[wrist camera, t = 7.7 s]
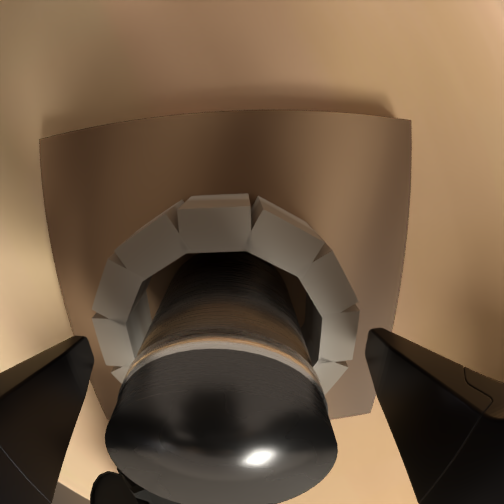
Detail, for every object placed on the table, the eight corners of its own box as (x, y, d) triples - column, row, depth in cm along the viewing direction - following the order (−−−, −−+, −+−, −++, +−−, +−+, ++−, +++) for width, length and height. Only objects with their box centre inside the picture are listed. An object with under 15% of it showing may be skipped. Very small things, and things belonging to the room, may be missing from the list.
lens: (291, 243, 11) (361, 376, 4) (288, 353, 12) (322, 503, 6) (158, 248, 11) (67, 378, 4) (175, 356, 12) (140, 503, 6)
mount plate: (398, 121, 11) (450, 116, 7) (364, 400, 15) (385, 446, 12) (52, 139, 10) (-2, 141, 7) (112, 407, 15) (94, 453, 11)
